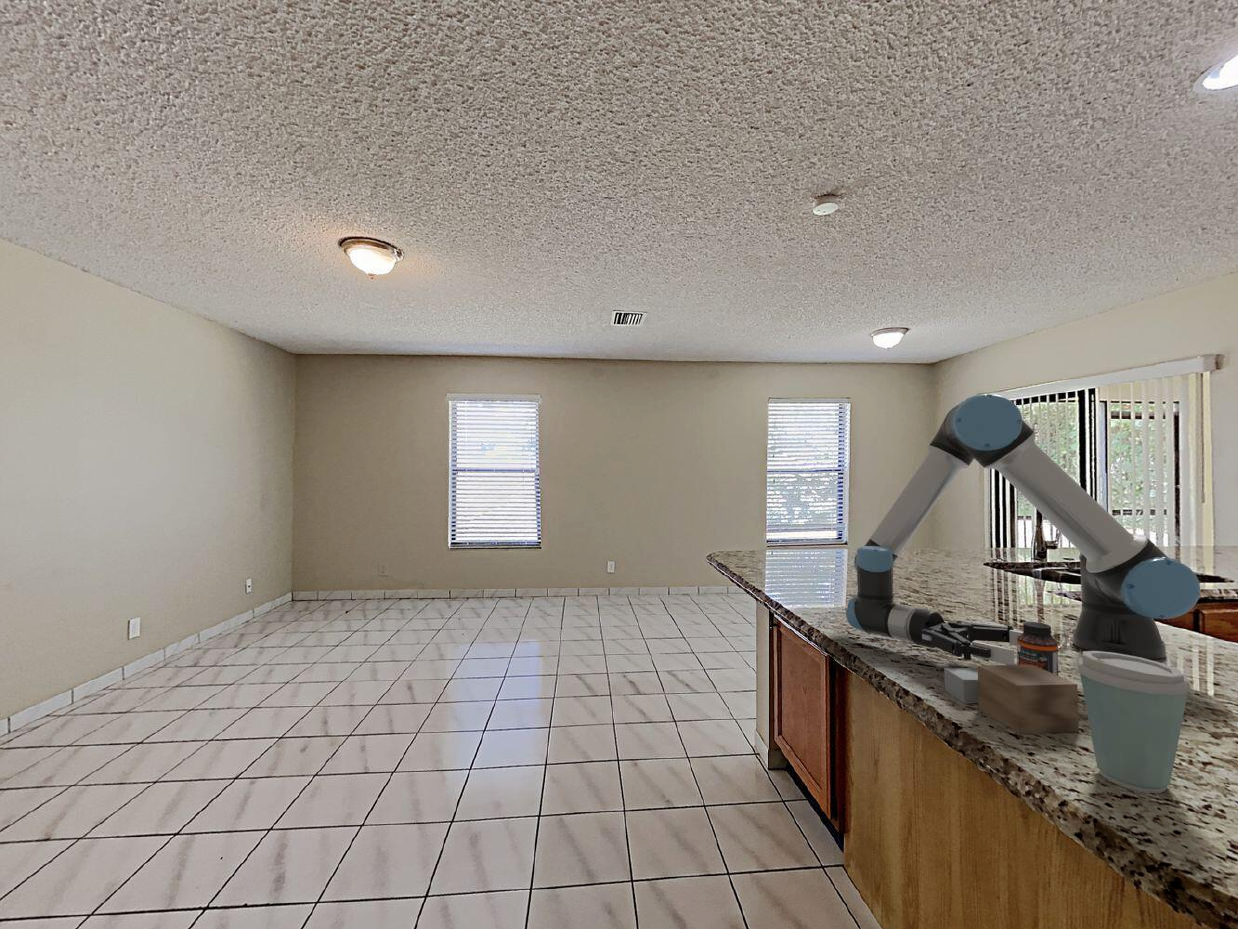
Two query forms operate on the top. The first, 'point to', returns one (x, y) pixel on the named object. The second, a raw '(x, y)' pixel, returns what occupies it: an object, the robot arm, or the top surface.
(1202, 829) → the top surface
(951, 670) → the grey block
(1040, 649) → the supplement bottle
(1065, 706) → the walnut block
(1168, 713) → the disposable coffee cup
